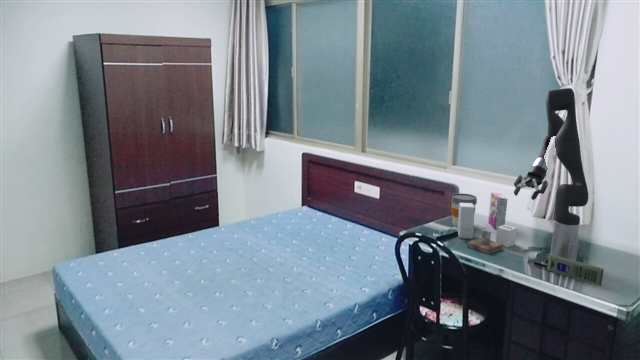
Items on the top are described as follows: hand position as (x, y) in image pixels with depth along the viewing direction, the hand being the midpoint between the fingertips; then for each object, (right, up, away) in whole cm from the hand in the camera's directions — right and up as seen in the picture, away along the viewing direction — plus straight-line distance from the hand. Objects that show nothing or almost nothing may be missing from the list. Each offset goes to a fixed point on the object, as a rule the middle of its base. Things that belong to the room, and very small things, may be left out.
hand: (523, 196), depth 223 cm
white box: (-9, -22, -2) cm, 24 cm away
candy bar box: (-5, -16, +22) cm, 28 cm away
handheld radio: (+2, -30, -34) cm, 45 cm away
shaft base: (-20, -23, -7) cm, 31 cm away
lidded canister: (-22, -15, +24) cm, 36 cm away
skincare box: (-25, -19, +8) cm, 33 cm away
